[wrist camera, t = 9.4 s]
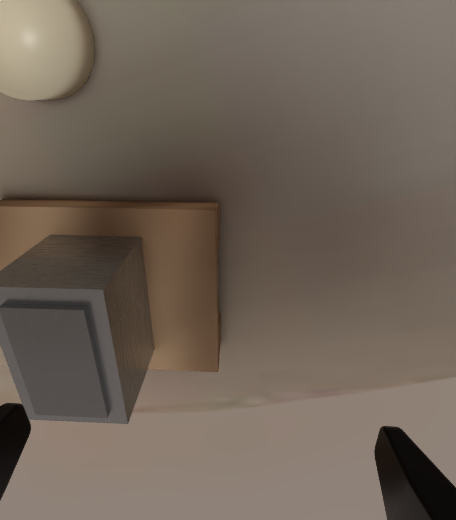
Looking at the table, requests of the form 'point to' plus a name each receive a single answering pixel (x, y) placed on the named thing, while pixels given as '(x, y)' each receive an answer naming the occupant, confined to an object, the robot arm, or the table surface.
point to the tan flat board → (155, 258)
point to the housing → (77, 327)
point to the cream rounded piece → (44, 48)
